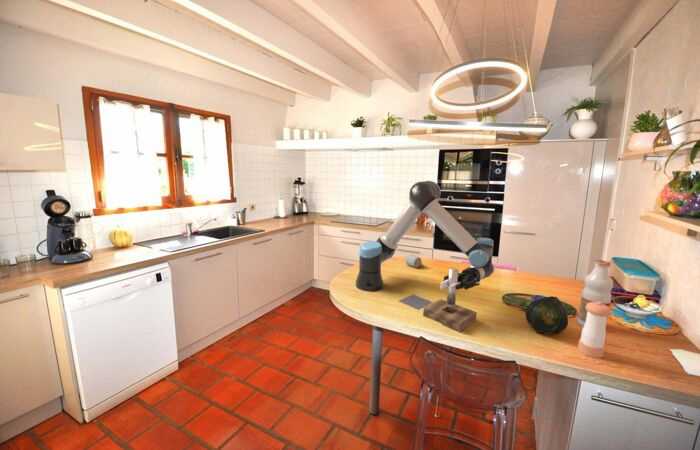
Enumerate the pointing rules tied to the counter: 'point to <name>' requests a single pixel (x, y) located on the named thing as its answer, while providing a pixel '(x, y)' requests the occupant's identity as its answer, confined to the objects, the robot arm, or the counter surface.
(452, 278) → the metal pin
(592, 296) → the fruit juice
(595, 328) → the pepper shaker
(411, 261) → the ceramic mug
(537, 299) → the pudding
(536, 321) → the squash
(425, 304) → the rubber mat
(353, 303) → the counter surface
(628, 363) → the counter surface
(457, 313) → the socket block
